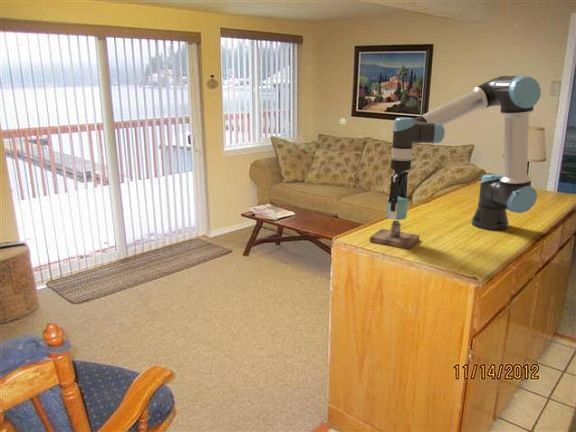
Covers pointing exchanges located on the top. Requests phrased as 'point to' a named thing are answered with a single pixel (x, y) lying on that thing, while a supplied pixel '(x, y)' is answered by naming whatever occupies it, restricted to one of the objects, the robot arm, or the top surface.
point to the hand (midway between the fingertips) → (396, 216)
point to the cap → (399, 208)
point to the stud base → (394, 237)
